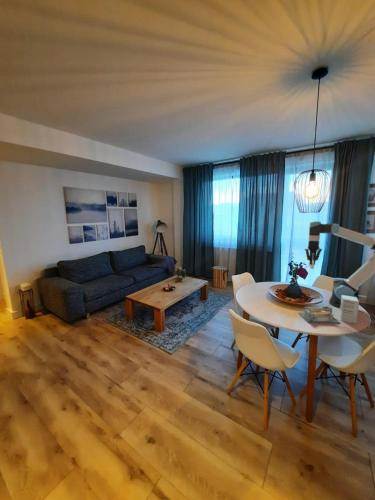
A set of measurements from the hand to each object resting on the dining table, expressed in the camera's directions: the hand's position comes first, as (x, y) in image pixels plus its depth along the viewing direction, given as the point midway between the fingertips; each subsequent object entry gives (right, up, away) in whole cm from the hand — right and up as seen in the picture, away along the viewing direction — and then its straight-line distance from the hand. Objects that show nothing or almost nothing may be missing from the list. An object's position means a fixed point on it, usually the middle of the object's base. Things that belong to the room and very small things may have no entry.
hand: (311, 268), depth 172 cm
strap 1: (-5, -30, -15) cm, 34 cm away
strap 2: (-8, -32, -22) cm, 40 cm away
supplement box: (+14, -36, -21) cm, 44 cm away
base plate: (-6, -36, -18) cm, 40 cm away
